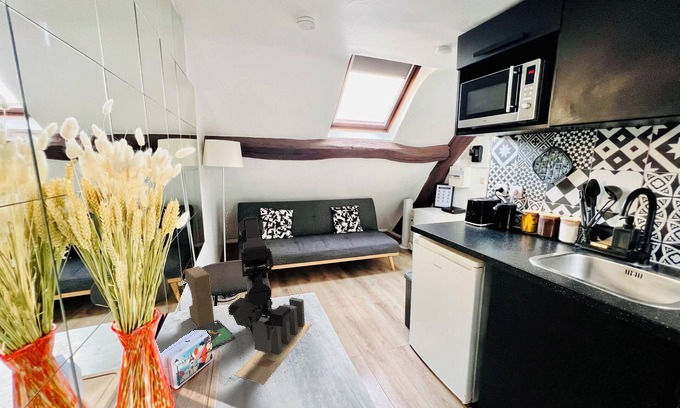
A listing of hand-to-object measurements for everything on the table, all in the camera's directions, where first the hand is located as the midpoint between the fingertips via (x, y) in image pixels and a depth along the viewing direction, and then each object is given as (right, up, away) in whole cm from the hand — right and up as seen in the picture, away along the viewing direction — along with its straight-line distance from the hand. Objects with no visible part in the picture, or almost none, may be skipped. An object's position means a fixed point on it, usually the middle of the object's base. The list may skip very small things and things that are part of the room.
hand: (262, 337), depth 82 cm
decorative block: (-31, -6, +26) cm, 41 cm away
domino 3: (+4, -6, +10) cm, 13 cm away
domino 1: (0, -4, +1) cm, 4 cm away
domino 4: (+8, -5, +20) cm, 22 cm away
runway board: (+3, -8, +8) cm, 12 cm away
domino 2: (+2, -7, +6) cm, 10 cm away
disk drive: (-21, -8, +15) cm, 27 cm away
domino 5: (+6, -6, +15) cm, 17 cm away
